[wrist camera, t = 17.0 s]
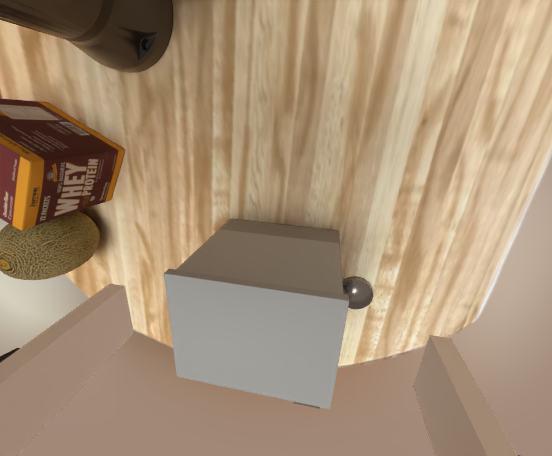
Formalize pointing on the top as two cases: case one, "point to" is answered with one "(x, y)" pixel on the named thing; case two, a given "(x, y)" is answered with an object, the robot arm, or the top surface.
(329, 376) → the cabinet
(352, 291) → the steel puck
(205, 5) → the top surface
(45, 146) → the supplement box
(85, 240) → the fruit
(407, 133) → the top surface
